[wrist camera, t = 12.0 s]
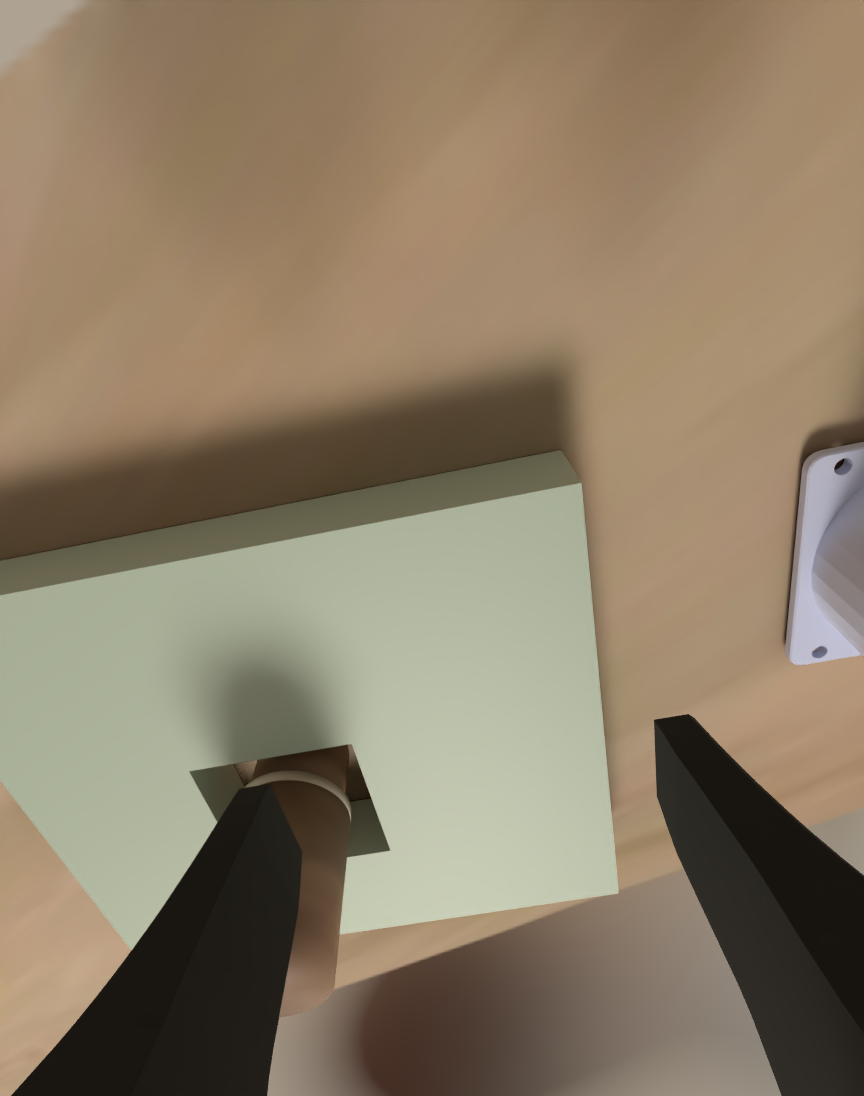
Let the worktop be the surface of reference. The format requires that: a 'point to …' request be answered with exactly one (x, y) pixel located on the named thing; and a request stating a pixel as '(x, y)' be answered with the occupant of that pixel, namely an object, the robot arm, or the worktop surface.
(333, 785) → the walnut leg
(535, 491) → the socket board
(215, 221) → the worktop surface
